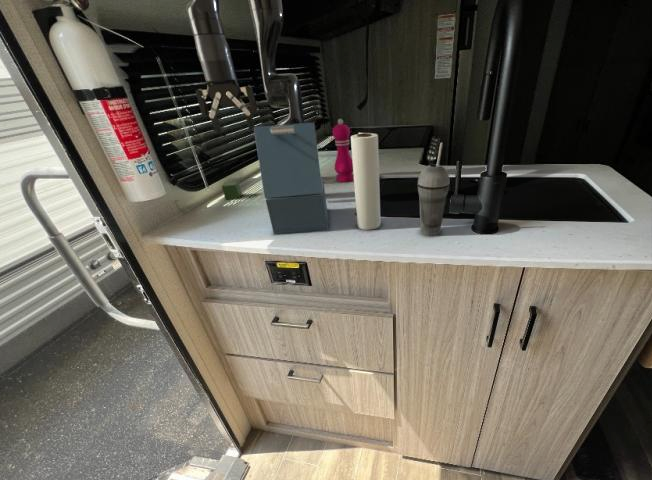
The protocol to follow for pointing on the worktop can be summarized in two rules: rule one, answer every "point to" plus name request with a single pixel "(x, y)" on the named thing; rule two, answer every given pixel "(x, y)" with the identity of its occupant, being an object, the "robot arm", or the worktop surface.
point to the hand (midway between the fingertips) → (235, 132)
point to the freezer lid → (288, 160)
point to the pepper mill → (343, 153)
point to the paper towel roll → (366, 179)
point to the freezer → (298, 213)
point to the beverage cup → (432, 196)
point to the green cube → (232, 190)
